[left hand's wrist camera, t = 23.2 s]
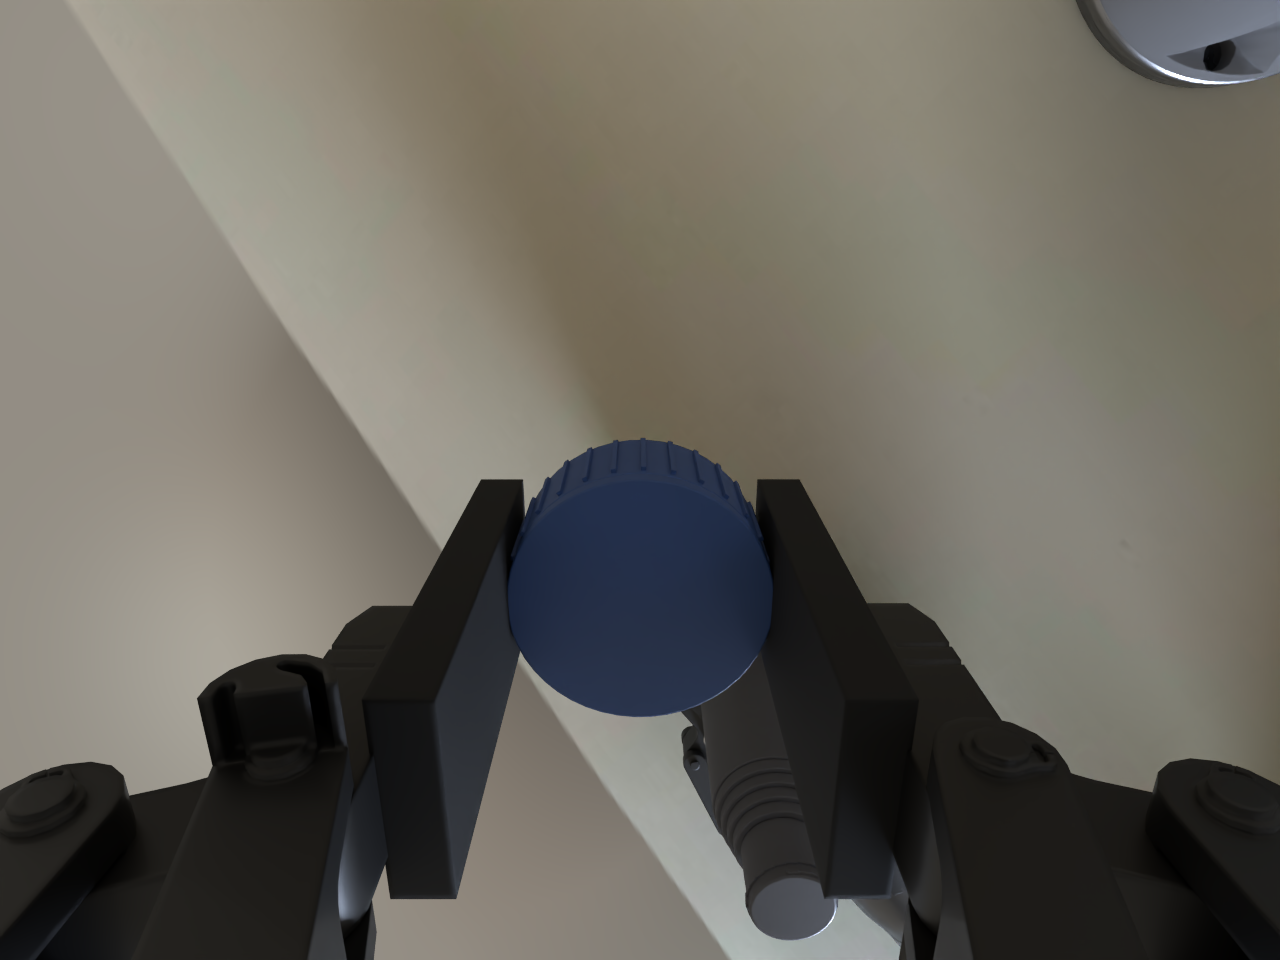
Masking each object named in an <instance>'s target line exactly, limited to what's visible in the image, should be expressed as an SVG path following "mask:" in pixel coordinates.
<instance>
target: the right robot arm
mask: <svg viewBox="0 0 1280 960" xmlns="http://www.w3.org/2000/svg"><path fill="white" fill-rule="evenodd" d="M681 712H682V713H683V714H684V715H685V717H686V718H687V719H688V720H689V721H690V722H691V723H692V724H693V726H690V727H687V728H685V729H684V730H683V731H682V735H681V736H682V743H683V752H684V756H683V764H684V768H685V770H686V772H687V774H688V776H689V777H690V779H691V781H692V783H693V785H694V787H695V789H696V791H697V793H698V795H699V796H700V798H701V800H702V802H703V804H704V806H705V808H706V810H707V812H708V813H709V815H710V817H711V819H712V821H713V823H714V825H715V827H716V829H717V830H718V832H719V833H720V831H719V829H718V826H717V823H716V820H715V817H714V814H713V809H712V800H711V791H710V782H709V773H708V764H707V755H706V746H705V737H704V728H703V719H702V711H701V704H700V705H698V706H695V707H692V708H689V709H687V710H684V711H681ZM720 834H721V833H720ZM908 898H909V895H908V892H907V890H906V887H905V884H904V882H903V879H902V876H901V874H900V871H899V868H898V866H897V863H896V862H895V869H894V876H893V883H892V889H891V896H890V899H852V900H853V901H854V903H855V904H856V905H857V906H858V907H859V908H860V909H861V910H862V911H863V912H864V913H865V914H866V915H867V916H868V917H869V918H870V919H872V920H873V921H874V922H875V923H877V924H878V925H879V926H881V927H882V928H883V929H884V930H885V931H886V932H887V933H888V934H889V935H890V936H891V937H892V938H893V939H894V940H895V941H896V942H897V943H898V944H899V946H900V947H901V943H902V936H903V930H904V923H905V917H906V911H907V904H908Z"/></svg>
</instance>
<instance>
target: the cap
mask: <svg viewBox="0 0 1280 960" xmlns="http://www.w3.org/2000/svg"><path fill="white" fill-rule="evenodd" d="M763 540H764V538H763V535H762V532H761V529H760V527H759V524H758V521H757V518H756V515H755V513H754V510H753V507H752V504H751V502H747V501H746V500H745V498H744V496H743V495H742V492H741V489H740V486H739V484H738V482H737V481H735V482H733V481H732V480H731V478H730V477H729V476H728V475H727V474H725V473H724V472H723V471H722V469H721V466H720V465H719V464H718V463H716V465H715V464H714V463H712V462H711V461H709V460H708V459H707V458H705V457H703V456H701V455H699V453H698V451H696V450H693V451H691V450H689V449H686V448H683V447H681V446H678V445H674V444H673V442H671V441H668V443H666V442H661V441H652V440H646V438H641V440H628V441H621V442H618V440H615V441H613V443H610V444H607V445H603V446H599V447H597V448H594V449H592V447H591V448H589V449H587V452H585V453H583V454H581V455H579V456H578V457H576V458H574V459H573V460H571V461H569V460H567V461H565V462H564V465H563V467H562V468H560V469H559V470H558V471H557V472H556V473H555V474H554V475H553V476H552V477H551V478H549V477H547V478H546V479H545V482H544V485H543V488H542V489H541V491H540V492H539V494H538V495H537V497H536V498H534V497H533V498H532V499H531V502H530V505H529V508H528V510H527V513H526V516H525V519H524V520H523V521H522V524H521V527H520V530H519V533H518V536H517V539H516V542H515V544H514V547H513V550H512V553H511V556H510V559H511V561H513V562H512V565H511V568H510V572H509V577H508V582H507V589H508V605H509V620H510V628H511V631H512V633H513V636H514V639H515V641H516V644H517V646H518V647H519V649H520V651H521V653H522V654H523V656H524V658H525V659H526V661H527V662H528V663H529V665H530V666H531V667H532V669H533V670H534V671H535V672H536V673H537V674H538V675H539V676H540V677H541V678H542V679H543V680H544V681H545V682H546V683H547V684H548V685H550V686H551V687H552V688H553V689H555V690H556V691H557V692H559V693H560V694H562V695H564V696H565V697H567V698H569V699H570V700H572V701H574V702H577V703H579V704H581V705H583V706H585V707H588V708H591V709H594V710H597V711H600V712H604V713H609V714H614V715H619V716H630V717H652V716H660V715H668V714H672V713H676V712H680V711H684V710H687V709H689V708H692V707H695V706H698V705H700V704H702V703H704V702H706V701H708V700H710V699H712V698H714V697H715V696H717V695H718V694H720V693H721V692H723V691H725V690H726V689H727V688H729V687H730V686H731V685H732V684H733V683H734V682H736V681H737V680H738V679H739V678H740V677H741V676H742V675H743V674H744V673H745V672H746V670H747V669H748V668H749V667H750V666H751V664H752V663H753V661H754V660H755V659H756V657H757V656H758V654H759V652H760V650H761V649H762V647H763V645H764V643H765V641H766V638H767V635H768V633H769V630H770V626H771V612H772V597H773V577H772V573H771V569H770V560H769V557H768V555H767V552H766V549H765V546H764V543H763Z"/></svg>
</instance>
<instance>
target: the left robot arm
mask: <svg viewBox="0 0 1280 960" xmlns="http://www.w3.org/2000/svg"><path fill="white" fill-rule="evenodd" d="M1076 2H1077V4H1078V6H1079V9H1080V11H1081V14H1082V16H1083V17H1084V19H1085V21H1086V23H1087V25H1088V26H1089V28H1090V30H1091V31H1092V33H1093V34H1094V35H1095V37H1096V38H1097V40H1098V41H1099V42H1100V43H1101V44H1102V45H1103V47H1104V48H1105V49H1106V50H1107V51H1108V52H1109V53H1110V54H1111V55H1112V56H1113V57H1115V58H1116V59H1117V60H1118V61H1119V62H1120V63H1122V64H1123V65H1125V66H1126V67H1128V68H1129V69H1131V70H1132V71H1134V72H1136V73H1138V74H1140V75H1142V76H1144V77H1146V78H1149V79H1151V80H1154V81H1157V82H1160V83H1164V84H1168V85H1172V86H1179V87H1188V88H1208V87H1218V86H1225V85H1231V84H1237V83H1242V82H1248V81H1253V80H1257V79H1262V78H1266V77H1269V76H1272V75H1275V74H1279V73H1280V0H1076ZM756 518H757V521H758V524H759V527H760V529H761V532H762V535H763V538H764V540H763V543H764V546H765V549H766V552H767V555H768V557H769V560H770V569H771V573H772V577H773V597H772V612H771V626H770V630H769V633H768V635H767V638H766V641H765V643H764V645H763V647H762V649H761V650H760V652H761V656H762V659H763V663H764V667H765V671H766V675H767V679H768V683H769V687H770V690H771V694H772V698H773V702H774V706H775V710H776V714H777V718H778V721H779V725H780V729H781V733H782V737H783V741H784V745H785V749H786V752H787V756H788V760H789V764H790V768H791V772H792V776H793V780H794V783H795V787H796V791H797V795H798V799H799V803H800V807H801V811H802V814H803V818H804V822H805V826H806V830H807V834H808V838H809V842H810V845H811V849H812V853H813V857H814V861H815V865H816V869H817V873H818V876H819V880H820V884H821V888H822V892H823V896H824V899H890V896H891V889H892V883H893V876H894V869H895V862H896V863H897V866H898V868H899V871H900V874H901V876H902V879H903V882H904V884H905V887H906V890H907V892H908V895H909V898H908V904H907V911H906V917H905V923H904V930H903V936H902V943H901V949H900V955H899V960H1280V785H1278V784H1276V783H1273V782H1271V781H1269V780H1267V779H1265V778H1263V777H1261V776H1259V775H1257V774H1255V773H1253V772H1251V771H1249V770H1246V769H1243V768H1240V767H1238V766H1236V767H1235V766H1232V765H1231V764H1226V763H1222V762H1219V761H1210V760H1201V759H1191V758H1190V759H1185V760H1179V761H1173V762H1169V763H1168V764H1167V765H1166V766H1165V767H1164V768H1162V769H1161V770H1160V771H1159V772H1158V775H1157V778H1156V782H1155V785H1154V789H1153V793H1152V792H1147V791H1143V790H1138V789H1133V788H1129V787H1124V786H1119V785H1115V784H1110V783H1105V782H1101V781H1096V780H1092V779H1089V778H1085V777H1082V776H1078V775H1075V774H1072V773H1071V772H1070V770H1069V768H1068V765H1067V764H1066V762H1065V761H1064V760H1063V758H1062V757H1061V755H1060V754H1059V753H1058V751H1057V750H1056V748H1054V747H1053V746H1052V745H1050V744H1049V743H1048V742H1046V741H1045V740H1044V739H1042V738H1041V737H1040V736H1038V735H1037V734H1035V733H1033V732H1031V731H1029V730H1027V729H1024V728H1022V727H1020V726H1018V725H1015V724H1013V723H1010V722H1006V721H1002V720H1001V719H1000V717H999V716H998V714H997V713H996V711H995V710H994V708H993V707H992V705H991V704H990V702H989V701H988V699H987V698H986V696H985V695H984V694H983V692H982V691H981V689H980V688H979V686H978V685H977V683H976V682H975V680H974V679H973V677H972V676H971V674H970V673H969V671H968V670H967V668H966V667H965V665H961V660H960V658H959V657H958V655H957V654H956V652H955V651H954V649H953V648H952V647H949V642H948V640H947V639H946V637H945V636H944V634H943V633H942V632H941V630H940V629H939V627H938V626H937V624H936V623H935V621H933V620H932V619H930V618H929V617H927V616H926V615H924V614H923V613H922V612H920V611H919V610H917V609H916V608H914V607H913V606H911V605H910V604H908V603H866V601H865V599H864V598H863V596H862V594H861V592H860V590H859V588H858V586H857V585H856V583H855V581H854V579H853V577H852V575H851V574H850V572H849V570H848V568H847V566H846V564H845V563H844V561H843V559H842V557H841V555H840V553H839V552H838V550H837V548H836V546H835V544H834V542H833V540H832V539H831V537H830V535H829V533H828V531H827V529H826V528H825V526H824V524H823V522H822V520H821V518H820V517H819V515H818V513H817V511H816V509H815V507H814V506H813V504H812V502H811V500H810V498H809V496H808V494H807V493H806V491H805V489H804V487H803V485H802V483H801V482H800V480H782V479H758V480H757V498H756ZM524 519H525V507H524V489H523V480H481V481H480V483H479V484H478V486H477V488H476V490H475V492H474V494H473V495H472V497H471V499H470V501H469V503H468V505H467V506H466V508H465V510H464V512H463V514H462V516H461V518H460V519H459V521H458V523H457V525H456V527H455V529H454V530H453V532H452V534H451V536H450V538H449V540H448V541H447V543H446V545H445V547H444V549H443V551H442V553H441V554H440V556H439V558H438V560H437V562H436V564H435V566H434V567H433V569H432V571H431V573H430V575H429V576H428V578H427V580H426V582H425V584H424V586H423V587H422V589H421V591H420V593H419V595H418V597H417V599H416V600H415V602H414V604H413V606H372V607H370V608H369V609H367V610H366V611H364V612H363V613H362V614H360V615H359V616H357V617H356V618H354V619H353V620H351V621H350V622H349V623H347V624H346V625H345V627H344V628H343V630H342V631H341V633H340V634H339V636H338V637H337V639H336V640H335V642H334V643H333V644H332V650H329V651H328V652H327V653H326V655H325V656H324V658H323V659H322V658H318V657H314V656H310V655H307V654H282V655H277V656H272V657H267V658H262V659H257V660H254V661H251V662H249V663H246V664H244V665H241V666H239V667H236V668H234V669H231V670H229V671H228V672H226V673H225V674H223V675H222V676H220V677H218V678H217V679H215V680H214V681H212V682H211V683H210V684H209V685H208V686H207V687H206V688H205V690H204V691H203V692H202V693H201V694H200V696H199V697H198V698H197V700H198V705H199V709H200V713H201V717H202V722H203V726H204V731H205V735H206V739H207V744H208V748H209V752H210V756H211V761H212V765H213V766H212V769H211V771H210V774H209V776H208V777H207V778H204V779H201V780H197V781H193V782H190V783H186V784H181V785H177V786H172V787H168V788H163V789H158V790H154V791H149V792H145V793H140V794H135V795H130V796H129V794H128V790H127V787H126V783H125V780H124V776H123V775H122V774H121V773H120V772H119V771H118V770H116V769H115V768H114V767H113V766H112V765H106V764H100V763H95V762H85V763H75V764H66V765H61V766H58V767H53V768H50V769H48V770H43V771H40V772H37V773H34V774H31V775H29V776H28V777H26V778H24V779H22V780H20V781H18V782H16V783H14V784H12V785H9V786H7V787H5V788H3V789H2V790H0V960H374V951H375V942H376V924H375V917H374V911H373V904H372V898H373V895H374V892H375V890H376V887H377V884H378V882H379V879H380V877H381V874H382V871H383V869H384V866H385V865H386V872H387V879H388V886H389V893H390V899H456V898H457V894H458V890H459V886H460V882H461V878H462V875H463V871H464V867H465V863H466V859H467V855H468V851H469V847H470V844H471V840H472V836H473V832H474V828H475V824H476V820H477V816H478V813H479V809H480V805H481V801H482V797H483V793H484V789H485V785H486V782H487V778H488V774H489V770H490V766H491V762H492V758H493V754H494V750H495V747H496V743H497V739H498V735H499V731H500V727H501V723H502V720H503V716H504V712H505V708H506V704H507V700H508V696H509V692H510V688H511V685H512V681H513V677H514V673H515V669H516V665H517V661H518V657H519V654H520V649H519V647H518V646H517V644H516V641H515V639H514V636H513V633H512V631H511V628H510V620H509V605H508V589H507V582H508V577H509V572H510V568H511V565H512V562H513V561H511V559H510V556H511V553H512V550H513V547H514V544H515V542H516V539H517V536H518V533H519V530H520V527H521V524H522V521H523V520H524Z"/></svg>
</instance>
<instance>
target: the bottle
mask: <svg viewBox="0 0 1280 960" xmlns="http://www.w3.org/2000/svg"><path fill="white" fill-rule="evenodd" d="M701 711H702V719H703V728H704V737H705V746H706V755H707V764H708V773H709V782H710V791H711V800H712V809H713V814H714V817H715V820H716V823H717V826H718V829H719V831H720V833H721V835H722V836H723V837H724V839H725V841H726V843H727V845H728V846H729V848H730V849H731V851H732V853H733V855H734V856H735V857H736V859H737V861H738V863H739V865H740V866H741V867H742V868H743V872H744V879H745V885H746V893H745V902H746V908H747V910H748V913H749V915H750V917H751V919H752V921H753V922H754V924H755V925H756V927H757V928H758V929H759V930H760V931H762V932H763V933H765V934H766V935H768V936H771V937H773V938H776V939H781V940H800V939H805V938H808V937H811V936H814V935H816V934H817V933H819V932H821V931H822V930H824V929H825V928H826V927H827V926H828V925H829V924H830V922H831V921H832V919H833V917H834V915H835V912H836V910H837V907H838V899H824V896H823V892H822V888H821V884H820V880H819V876H818V873H817V869H816V865H815V861H814V857H813V853H812V849H811V845H810V842H809V838H808V834H807V830H806V826H805V822H804V818H803V814H802V811H801V807H800V803H799V799H798V795H797V791H796V787H795V783H794V780H793V776H792V772H791V768H790V764H789V760H788V756H787V752H786V749H785V745H784V741H783V737H782V733H781V729H780V725H779V721H778V718H777V714H776V710H775V706H774V702H773V698H772V694H771V690H770V687H769V683H768V679H767V675H766V671H765V667H764V663H763V659H762V656H761V652H759V654H758V656H757V657H756V659H755V660H754V661H753V663H752V664H751V666H750V667H749V668H748V669H747V670H746V672H745V673H744V674H743V675H742V676H741V677H740V678H739V679H738V680H737V681H736V682H734V683H733V684H732V685H731V686H730V687H729V688H727V689H726V690H725V691H723V692H721V693H720V694H718V695H717V696H715V697H714V698H712V699H710V700H708V701H706V702H704V703H702V704H701Z"/></svg>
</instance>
